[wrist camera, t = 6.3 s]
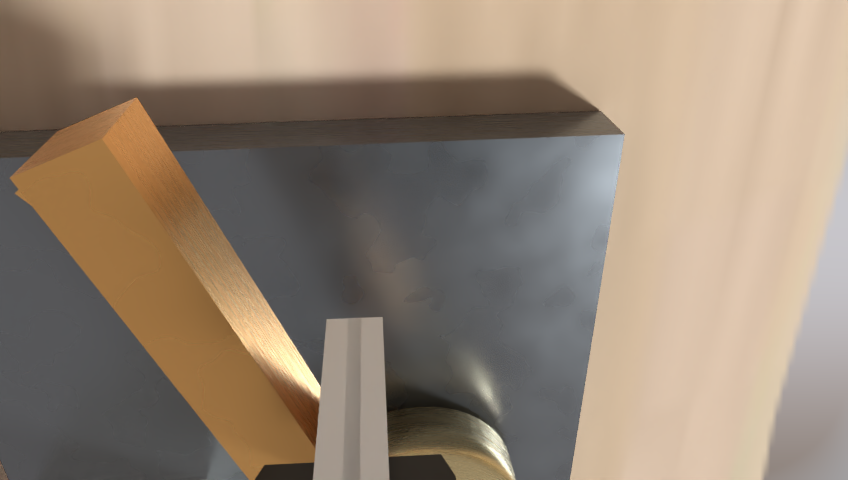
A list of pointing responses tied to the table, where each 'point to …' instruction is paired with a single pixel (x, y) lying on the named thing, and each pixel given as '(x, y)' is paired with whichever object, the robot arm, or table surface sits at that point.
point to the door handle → (206, 300)
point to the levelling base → (333, 284)
